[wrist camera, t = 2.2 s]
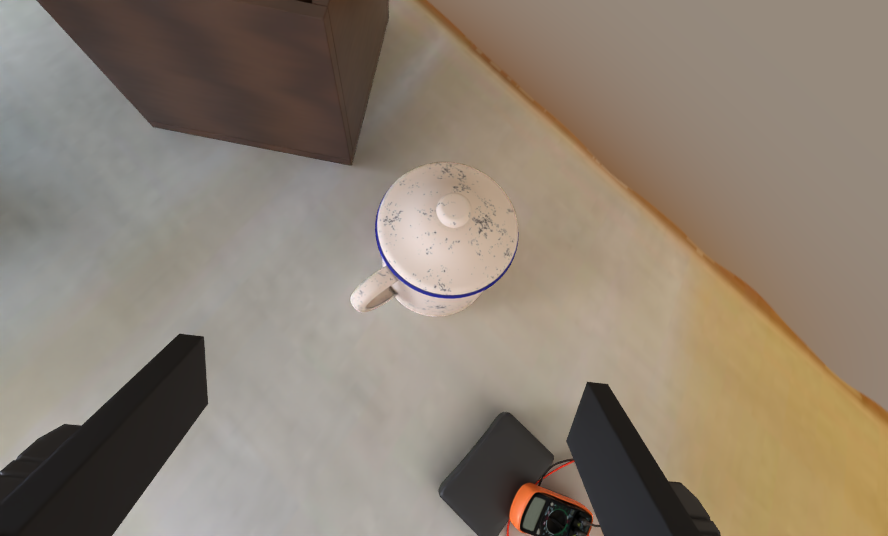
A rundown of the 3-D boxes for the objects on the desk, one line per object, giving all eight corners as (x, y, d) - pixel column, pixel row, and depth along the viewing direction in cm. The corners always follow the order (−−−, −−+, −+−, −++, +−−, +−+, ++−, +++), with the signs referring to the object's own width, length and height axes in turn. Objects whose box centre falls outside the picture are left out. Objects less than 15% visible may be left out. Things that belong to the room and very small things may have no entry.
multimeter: (714, 555, 30) (753, 575, 27) (612, 703, 27) (642, 746, 24) (543, 367, 33) (559, 365, 30) (430, 482, 30) (435, 494, 26)
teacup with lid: (445, 196, 36) (468, 109, 25) (511, 277, 35) (566, 225, 24) (327, 273, 33) (292, 214, 22) (393, 366, 32) (393, 354, 20)
